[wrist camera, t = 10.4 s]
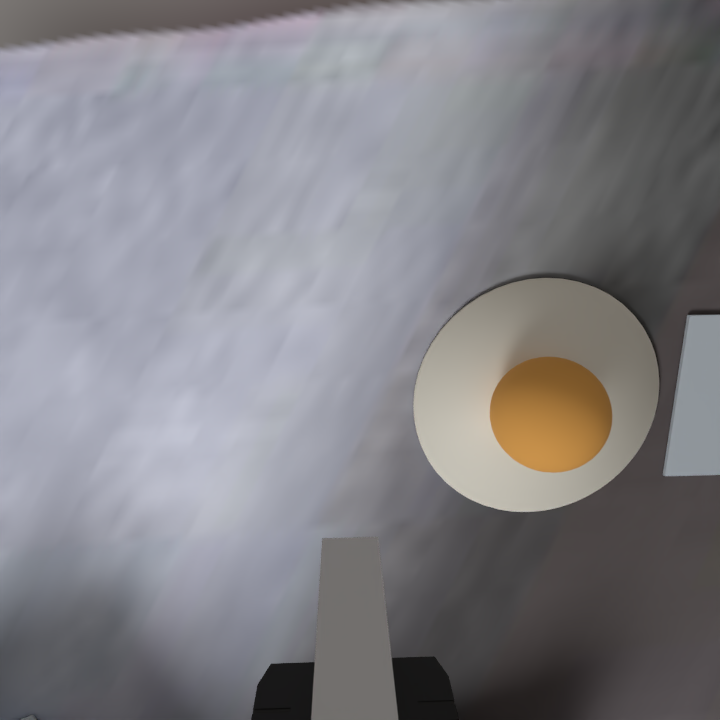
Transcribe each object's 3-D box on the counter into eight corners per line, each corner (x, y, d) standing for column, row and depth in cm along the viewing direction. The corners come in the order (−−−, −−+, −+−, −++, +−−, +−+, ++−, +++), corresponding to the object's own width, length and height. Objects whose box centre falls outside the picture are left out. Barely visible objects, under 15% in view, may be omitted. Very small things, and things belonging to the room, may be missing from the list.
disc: (673, 275, 27) (676, 276, 26) (640, 506, 30) (642, 508, 30) (415, 279, 26) (415, 280, 26) (411, 513, 30) (411, 515, 29)
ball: (592, 386, 21) (468, 366, 24) (585, 508, 22) (469, 473, 26) (631, 351, 25) (519, 338, 28) (622, 457, 26) (517, 433, 30)
